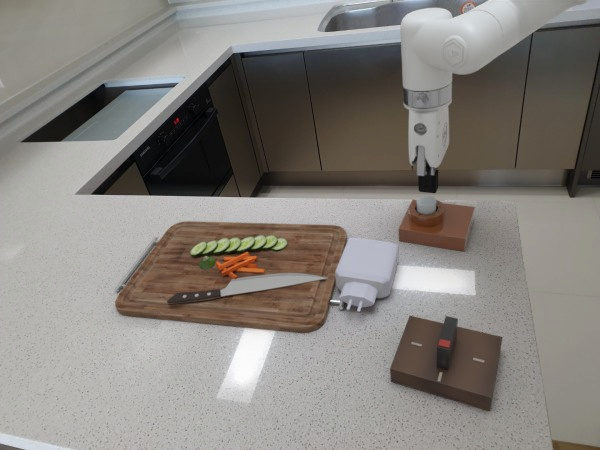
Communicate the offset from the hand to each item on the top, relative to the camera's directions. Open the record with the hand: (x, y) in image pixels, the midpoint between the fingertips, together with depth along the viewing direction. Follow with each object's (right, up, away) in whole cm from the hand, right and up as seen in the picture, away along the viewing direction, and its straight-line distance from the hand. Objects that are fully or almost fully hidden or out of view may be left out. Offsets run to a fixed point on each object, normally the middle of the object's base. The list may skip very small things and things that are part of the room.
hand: (428, 190), depth 84 cm
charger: (-12, -17, -5) cm, 22 cm away
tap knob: (-3, -24, -21) cm, 32 cm away
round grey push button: (0, -3, +3) cm, 5 cm away
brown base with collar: (+3, -7, +5) cm, 9 cm away
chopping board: (-36, -15, +5) cm, 39 cm away
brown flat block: (-3, -26, -19) cm, 33 cm away
